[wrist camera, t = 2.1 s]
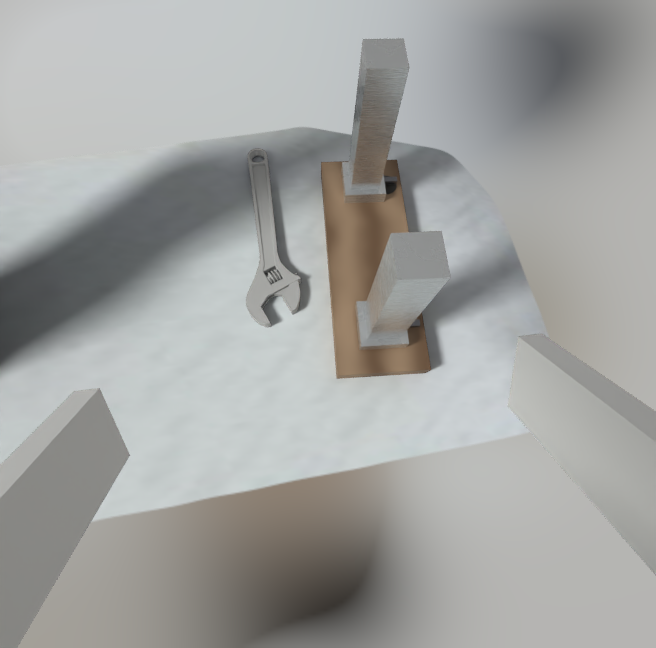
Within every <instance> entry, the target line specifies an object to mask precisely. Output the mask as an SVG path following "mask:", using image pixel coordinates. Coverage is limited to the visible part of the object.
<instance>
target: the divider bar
mask: <svg viewBox="0 0 656 648" xmlns="http://www.w3.org/2000/svg"><path fill="white" fill-rule="evenodd" d="M345 162H349V161H345ZM341 168H342V162H321V178H322V192H323V205H324V218H325V231H326V244H327V257H328V270H329V283H330V296H331V310H332V323H333V336H334V349H335V362H336V375H337V379H339V378H354V377H370V376H386V375H401V374H417V373H426V372H428V371H430V370H431V366H430V360H429V354H428V348H427V342H426V336H425V329H424V323H423V317H422V313H421V314H420V315H419V316H418V317H417V319H419V320H420V327H413V328H408V329H407V333H408V339H409V344H408V345H407V346H406V347H404V348H387V349H370V350H359V341H358V330H357V320H356V310H355V305H356V302H357V301H367V298H368V296H369V293H370V290H371V287H372V284H373V282H374V279H375V276H376V273H377V270H378V268H379V265H380V262H381V259H382V256H383V254H384V251H385V248H386V245H387V243H388V240H389V237H390V234H391V233H406V232H409V231H408V225H407V219H406V213H405V207H404V200H403V194H402V188H401V182H400V176H399V170H398V164H397V160H386V164H385V168H384V172H383V175H384V177H397V184H394V185H385V189H386V196H385V200H384V202H365V203H344V194H343V184H342V174H341ZM417 319H416V320H417Z"/></svg>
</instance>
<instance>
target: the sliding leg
mask: <svg viewBox="0 0 656 648" xmlns="http://www.w3.org/2000/svg"><path fill="white" fill-rule="evenodd" d="M450 278H451V276H450V271H449V266H448V261H447V256H446V251H445V246H444V241H443V236H442V231H429V232H406V233H391V234H390V237H389V240H388V243H387V245H386V248H385V251H384V254H383V256H382V259H381V262H380V265H379V268H378V270H377V273H376V276H375V279H374V282H373V284H372V287H371V290H370V293H369V296H368V298H367V301H357V302H356V305H355V310H356V320H357V330H358V341H359V350H370V349H387V348H404V347H406V346H407V345H408V344H409V339H408V333H407V329H408V328H413V327H420V320H419V319H417V317H418V316H419V315H420V314H421V313H422V311H423V310H424V309H425V308H426V307H427V305H428V304H429V303H430V302H431V301H432V299H433V298H434V297H435V296H436V295H437V293H438V292H439V291H440V290H441V289H442V287H443V286H444V285H445V284H446V282H447V281H448V280H449V279H450ZM416 319H417V320H416Z"/></svg>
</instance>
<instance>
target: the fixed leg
mask: <svg viewBox="0 0 656 648" xmlns="http://www.w3.org/2000/svg"><path fill="white" fill-rule="evenodd" d="M408 72H409V63H408V59H407V54H406V48H405V43H404V39H363V43H362V52H361V61H360V69H359V79H358V87H357V96H356V105H355V114H354V123H353V131H352V140H351V149H350V158H349V162H342V168H341V174H342V184H343V194H344V203H365V202H384V200H385V196H386V189H385V185H394V184H397V177H384V175H383V172H384V168H385V164H386V160H387V156H388V152H389V148H390V144H391V140H392V136H393V132H394V128H395V124H396V120H397V116H398V112H399V108H400V104H401V100H402V96H403V92H404V88H405V84H406V80H407V76H408Z"/></svg>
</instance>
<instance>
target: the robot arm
mask: <svg viewBox="0 0 656 648" xmlns="http://www.w3.org/2000/svg"><path fill="white" fill-rule="evenodd" d="M508 407H509V408H510V410H511V411H512V412H513V413H514V414H515V415H516V416H517V418H518V419H519V420H520V421H521V422H522V423H523V424H524V426H525V427H526V428H527V429H528V430H529V431H530V432H531V434H532V435H533V436H534V437H535V438H536V439H537V440H538V442H539V443H540V444H541V445H542V446H543V447H544V448H545V449H546V451H547V452H548V453H549V454H550V455H551V456H552V457H553V459H554V460H555V461H556V462H557V463H558V464H559V465H560V467H561V468H562V469H563V470H564V471H565V472H566V473H567V475H568V476H569V477H570V478H571V479H572V480H573V481H574V482H575V484H576V485H577V486H578V487H579V488H580V489H581V491H582V492H583V493H584V494H585V495H586V496H587V497H588V499H590V501H591V502H592V503H593V504H594V505H595V506H596V508H597V509H598V510H599V511H600V512H601V513H602V515H603V516H604V517H605V518H606V519H607V520H608V521H609V523H610V524H611V525H612V526H613V527H614V528H615V529H616V530H617V532H618V533H619V534H620V535H621V536H622V537H623V539H624V540H625V541H626V542H627V543H628V544H629V545H630V546H631V548H632V549H633V550H634V551H635V552H636V553H637V555H638V556H639V557H640V558H641V559H642V560H643V561H644V562H645V564H646V565H647V566H648V567H649V568H650V569H651V571H652V572H653V573H654V574H655V575H656V411H654V410H653V409H651V408H650V407H648V406H647V405H646V404H644V403H643V402H641V401H640V400H638V399H637V398H635V397H634V396H632V395H631V394H629V393H628V392H626V391H625V390H623V389H622V388H621V387H619V386H618V385H616V384H615V383H613V382H612V381H610V380H609V379H607V378H606V377H605V376H603V375H602V374H600V373H599V372H597V371H596V370H594V369H593V368H591V367H590V366H588V365H587V364H586V363H584V362H583V361H581V360H579V359H578V358H577V357H575V356H574V355H572V354H571V353H569V352H568V351H566V350H565V349H563V348H562V347H561V346H559V345H558V344H556V343H555V342H553V341H552V340H550V339H549V338H547V337H546V336H545V335H543V334H534V335H526V336H518V342H517V348H516V355H515V361H514V368H513V374H512V381H511V387H510V394H509V400H508ZM129 456H130V454H129V452H128V450H127V448H126V446H125V443H124V441H123V439H122V437H121V435H120V432H119V430H118V428H117V426H116V424H115V421H114V419H113V417H112V415H111V413H110V410H109V408H108V406H107V404H106V401H105V399H104V397H103V395H102V393H101V390H100V388H97V389H89V390H81V391H74V392H73V393H72V394H71V395H70V396H69V397H68V398H67V399H66V400H65V401H64V402H63V403H62V404H61V405H60V406H59V407H58V408H57V409H56V410H55V411H54V412H53V413H52V414H51V415H50V416H49V417H48V418H47V419H46V420H45V421H44V422H43V423H42V424H41V425H40V426H39V427H38V428H37V429H36V430H35V431H34V432H33V433H32V434H31V435H30V436H29V437H28V438H27V439H26V440H25V441H24V442H23V443H22V444H21V445H20V446H19V447H18V448H17V449H16V450H15V451H14V452H13V453H12V454H11V455H10V456H9V457H8V458H7V459H6V460H5V461H4V462H3V463H2V464H1V465H0V648H17V647H18V645H19V644H20V642H21V640H22V639H23V637H24V635H25V633H26V632H27V630H28V628H29V627H30V625H31V623H32V621H33V619H34V618H35V616H36V615H37V613H38V611H39V609H40V608H41V606H42V604H43V602H44V601H45V599H46V598H47V596H48V594H49V592H50V591H51V589H52V587H53V586H54V584H55V582H56V580H57V579H58V577H59V575H60V574H61V572H62V570H63V569H64V567H65V565H66V563H67V562H68V560H69V558H70V556H71V555H72V553H73V551H74V550H75V548H76V546H77V545H78V543H79V541H80V539H81V538H82V536H83V534H84V533H85V531H86V529H87V528H88V526H89V524H90V522H91V521H92V519H93V517H94V516H95V514H96V512H97V510H98V509H99V507H100V505H101V504H102V502H103V500H104V499H105V497H106V495H107V493H108V492H109V490H110V488H111V487H112V485H113V483H114V481H115V480H116V478H117V476H118V475H119V473H120V471H121V469H122V468H123V466H124V464H125V463H126V461H127V459H128V458H129Z"/></svg>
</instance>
